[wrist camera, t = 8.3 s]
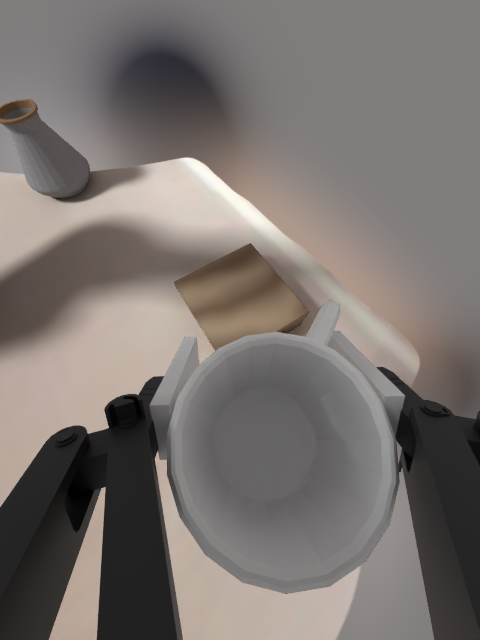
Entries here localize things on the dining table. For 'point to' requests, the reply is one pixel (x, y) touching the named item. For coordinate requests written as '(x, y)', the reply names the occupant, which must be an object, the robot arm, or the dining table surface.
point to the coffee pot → (44, 152)
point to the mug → (283, 459)
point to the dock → (240, 298)
